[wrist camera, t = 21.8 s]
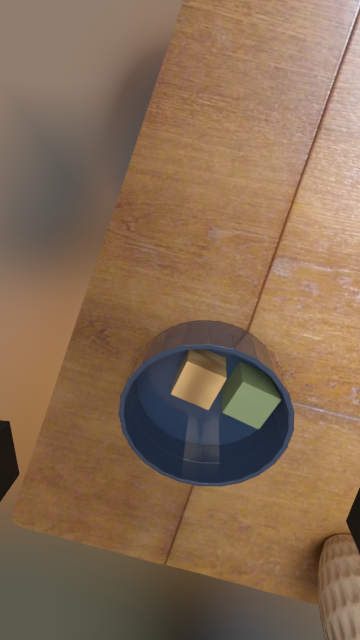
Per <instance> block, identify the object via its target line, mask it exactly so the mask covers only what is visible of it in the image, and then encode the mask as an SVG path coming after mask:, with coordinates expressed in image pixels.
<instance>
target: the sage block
mask: <svg viewBox="0 0 360 640" xmlns="http://www.w3.org/2000/svg"><path fill="white" fill-rule="evenodd" d="M280 401H281V398H280V395H279V391H278V388H277V385H276V384H275V382H274V381H273V379H272V378H271V377H270V376H269V375H268V374H267V373H265V372H263V371H260V370H258V369H256V368H254V367H252V366H250V365H248V364H246V363H244V362H242V361H239V363H238V364H237V366H236V368H235V369H234V371H233V372H232V374H231V375H230V377H229V378H228V380H227V382H226V383H225V385H224V386H223V388H222V412H223V413H224V414H226V415H228V416H231V417H233V418H235V419H237V420H239V421H241V422H244V423H246V424H248V425H250V426H252V427H254V428H256V429H260V427H261V426H262V425H263V423H264V422H265V421H266V419H267V418H268V417H269V415H270V414H271V413H272V411H273V410H274V409H275V408H276V406H277V405H278V404H279V402H280Z"/></svg>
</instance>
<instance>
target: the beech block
mask: <svg viewBox="0 0 360 640" xmlns="http://www.w3.org/2000/svg"><path fill="white" fill-rule="evenodd" d="M226 379H227V373H226V358H225V357H223V356H220V355H218V354H216V353H214V352H211V351H209V350H207V349H200V350H186V352H185V354H184V356H183V358H182V360H181V362H180V364H179V366H178V368H177V370H176V373H175V377H174V381H173V386H172V390H171V395H174V396H176V397H178V398H181V399H183V400H185V401H188V402H190V403H193V404H195V405H197V406H200V407H202V408H204V409H207V410H209V408H210V407H211V405H212V403H213V401H214V400H215V398H216V396H217V395H218V393H219V391H220V389H221V388H222V386H223V384H224V383H225V381H226Z"/></svg>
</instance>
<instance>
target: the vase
mask: <svg viewBox="0 0 360 640" xmlns="http://www.w3.org/2000/svg"><path fill="white" fill-rule="evenodd" d="M318 600H319V608H320V615H321V622H322V626H323V632H324V637H325V640H360V554H359V552H358V549H357V547H356V544H355V542H354V539H353V537H352V535H348V534H338V535H334V536H331V537H329V538H328V539H327V540H326V541H325V542H324V544H323V548H322V552H321V556H320V560H319V567H318Z"/></svg>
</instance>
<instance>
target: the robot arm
mask: <svg viewBox="0 0 360 640" xmlns="http://www.w3.org/2000/svg"><path fill="white" fill-rule="evenodd" d="M18 475H19V470H18V465H17V460H16V454H15V448H14V443H13V438H12V432H11V427H10V422H9V421H1V420H0V501H1V500H2V498H3V497H4V496H5V494H6V493H7V491H8V490H9V488H10V487H11V486H12V484H13V483H14V481H15V480H16V478H17V477H18ZM346 522H347V524H348V527H349V529H350V532H351V534H352V537H353V539H354V542H355V544H356V547H357V549H358V552H359V554H360V488H359V491H358V493H357V495H356V498H355V500H354V503H353V505H352V508H351V510H350V513H349V515H348V517H347V520H346Z"/></svg>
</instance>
